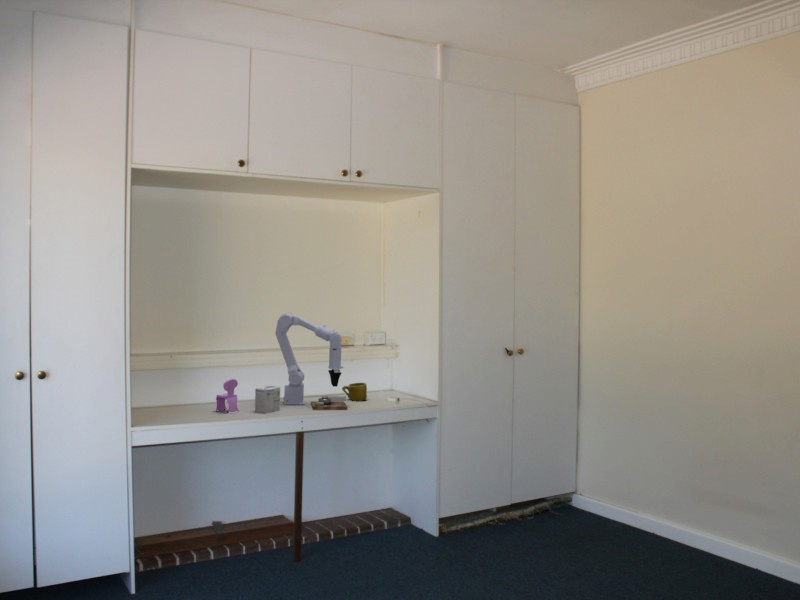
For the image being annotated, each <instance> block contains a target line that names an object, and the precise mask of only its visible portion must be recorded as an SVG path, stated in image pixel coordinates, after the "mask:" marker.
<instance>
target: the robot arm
mask: <svg viewBox="0 0 800 600" xmlns="http://www.w3.org/2000/svg"><path fill="white" fill-rule="evenodd" d="M276 323H277V324H276V328H275V331H274V332H275V333H274V335H275V337H276V340H277V342H278V346H279V348H280V350H281V353H282V356H283V359H284V362H285V364H286V367H287V374H288V382H289V383H288V384H286V385H284V387H283V388H284V389H283V390H284V394H283V395H284V396H283V403H284V405H285V406H286V405H288V406H290V405H293V406H295V405H300V406H301V405H305V401H304V395H305V394H304V392H305V389H304V388H305V387H304V385H305V384H304V383H303V381H304V380H305V374H304V372H303V371H302V370H301V367H300V366H299V365H298V362H297V360H296V357H295V354H294V352H293V349H292V345H291V342H290V340H289V338H288V335H287V333H288V331H289V329H290V328H291V327H292V326H301V327H303V328H305V329H307V330H309V331H311V332H314V335H315V336H316V337H318V338H319V339H321V340H324V341H326V342H329V349H328V351H329V352H328V353H329V354H328V355H329V356H328V370H327V372H328V373H329V378H330V382H331V385H332V387H338V385H339V381H340V377H341V375H342V372H341V369H344V366H342V361H341V360H342V340H343V335H342V334H341V333H339V332H338V331H335V330H334V329H331V328H328V327H327V326H326V324H323V325H322V324H320V325H316V324H314V323H313V322H311V321H309V320H307V319H305V318H304V317H301V316H299V315H297V314H293V313H292V312H287V313H283V314H281V315H280V317H279V318H278V319H277V322H276Z"/></svg>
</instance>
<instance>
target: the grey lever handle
mask: <svg viewBox="0 0 800 600" xmlns="http://www.w3.org/2000/svg"><path fill="white" fill-rule="evenodd" d="M331 401H344V402H346V401H347V395H346V396H343V395H341V396H339V395H336V396H333V395H332V396H327V395H323V396H321V397H319V398H318V402H324V405H326V404H331Z"/></svg>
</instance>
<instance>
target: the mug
mask: <svg viewBox="0 0 800 600" xmlns="http://www.w3.org/2000/svg"><path fill="white" fill-rule="evenodd" d="M341 390H342V392H344V393H345V394H346V396H347V398H348V399H349V400H350V401H354V402H355V401H356V402H357V401H358V402H363V401H366V400H367V397H368V395H367V392H368V391H367V390H368V388H367V383H365V382H355V383H350V384H348V385H343V386H342V387H341ZM346 390H347V391H346Z"/></svg>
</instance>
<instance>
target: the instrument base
mask: <svg viewBox="0 0 800 600" xmlns="http://www.w3.org/2000/svg"><path fill="white" fill-rule="evenodd" d="M318 401H319V400H318ZM318 401H317V400H316V401H310V406H311V408H312V410H313V411H325V410H326V411H339V410H342V411H344V410H345V411H348V405H347V404H346V401H331V404H326V405H324V402H318Z"/></svg>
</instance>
